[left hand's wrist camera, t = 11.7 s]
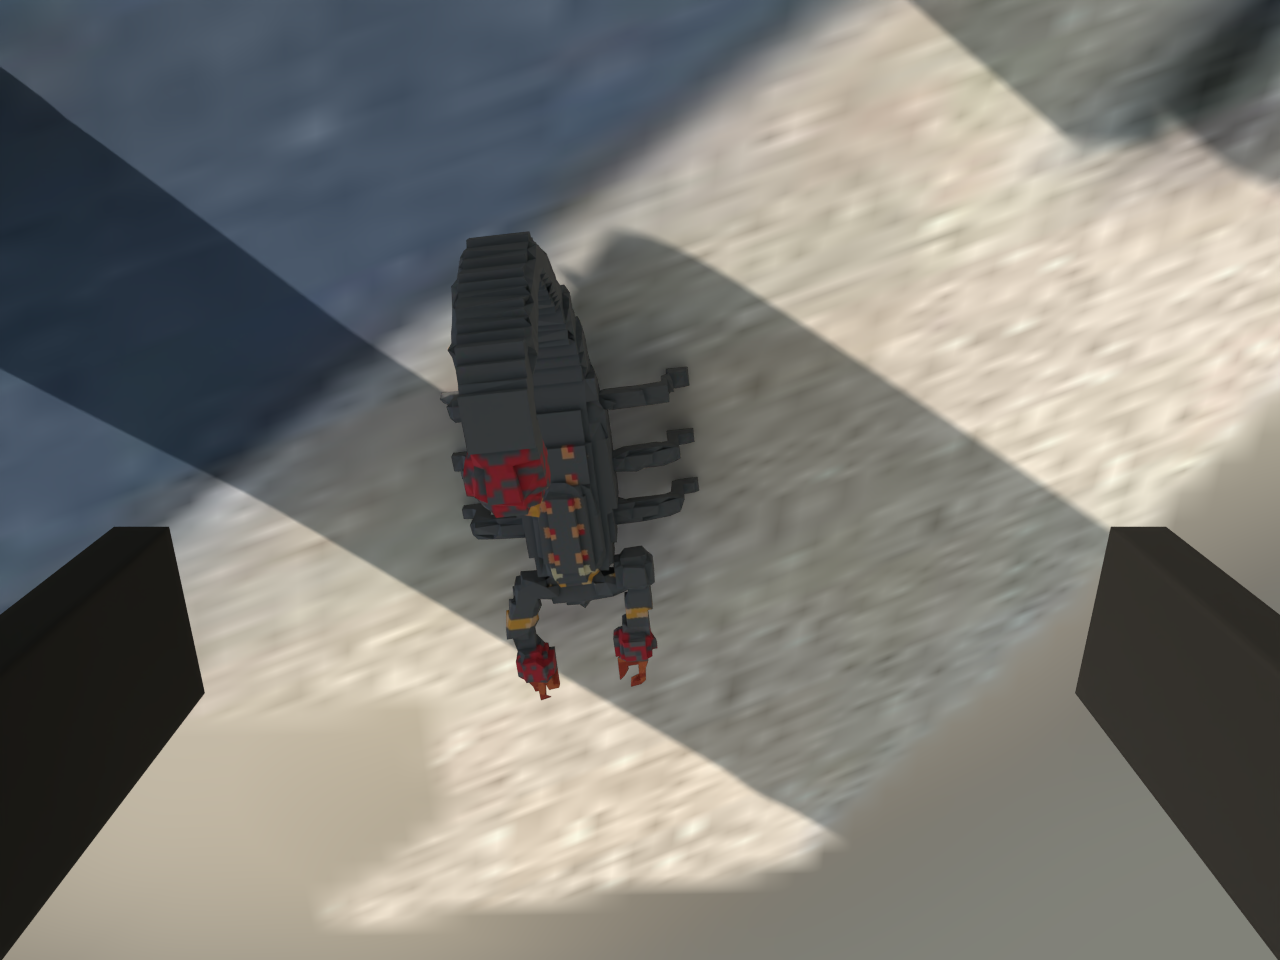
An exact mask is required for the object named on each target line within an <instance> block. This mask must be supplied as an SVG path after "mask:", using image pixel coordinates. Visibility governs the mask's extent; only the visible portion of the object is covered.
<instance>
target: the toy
mask: <svg viewBox="0 0 1280 960" xmlns="http://www.w3.org/2000/svg"><path fill="white" fill-rule="evenodd" d="M466 242H467V249H465V250H464V251H463V253H462V255H461V257H460V262H459V269H458V275H457V280H456V281H455V283H454V284H453V285H452V286H451V287H452V330H451V341H452V343H451V345H450V347H449V349H448V352H449V353H450V355H451V356H452V358H453V362H454V365H455V369H456V374H457V381H458V391H454V392H445V393H441V398H440V400H441V401H442V402H443V403H445V404H448V406H447V410H448V413H449V416H450V418H451V419H452V420H453V421H454V422H455V423H457V422H462V426H463V431H464V436H465V442H466V447H467V452H458V453H453V455H452V462H453V467H454V471H461V473H462V479H463V480H464V485H465V490H466V495H467V496H471V497H475V498H477V499H478V500H479V502H480V503H481V504H473V505H464V506H463V509H462V512H463V517H464V519H473V520H472V522H471V524H470V527H471V530H472V533H473V535H474V536H475V537H476V538H477V539H506V538H525V537H526V542H527V548H528V554H529V558H535V562H536V568H537V570H534V571H521V576H517V577H516V580H515V585H514V586H513V595H514V598H513V599H509V610H507V613H506V631H507V639H513V640H514V642H515V645H516V648H517V650H518V653H517V659H516V665H517V670H518V676H519V677H520V678H522V679H524V680H525V681H526V683H530V684H531V685H532V686H533V687H534V689H535V691H539V693H540V698H541V700H543V699H546V698H549V697H551V696H548V695H546V685H547V687H548V689H549V690H551V689H555V688H559V686H560V681H559V674H558V668H557V662H556V653H555V647H549V644H548V643H545V642H544V641H543V640H542V639H541V638H540V637H539V636H538V635H537V634H536V630H535V626H536V624H537V622H538V620H539V616H538V612H539V610H540V608H541V606H542V604H541V600H540V599H552V601H553V604H555V603H567V605H576V604H580V605H582V606H583V607H585V608H586V606H587V605H588V604H589V602H590V601H591V600H595V599H600V598H606V597H612V596H615V595H617V594H619V593H622V592H624V591H626V590H628V592H625V608H626V614H625V615H623V616H622V626H620V627H618V628H616V629H615V630H614V636H613V640H614V647H615V654H616V657H617V656H619V657H618V666H619V674H620V680H621V679H622V678H623V677H624V676H625V674H626V673H627V671H628V669H629V668H628V666H630V665H637V664H638V665H639V674H637V675H635V676H633V677H631V687H632V686H635V685H639V684H642V683H643V682H644V681H645V680H646V666H647V663H648V658H650V657H652V649H656V648H657V641H656V638H655V637H654V635H653V634H652V632H651V629H650V621H649V614H648V610H650V609H652V608H653V603H652V595H651V586H650V585H652V584H653V583H654V582H655V579H654V565H653V557H652V555H651V554H650V553H649V552H647V551H646V550H645V548H644V547H643V546H636V547H630V548H624V549H623V551H622V552H621V553H620V554H619V555H614V550H615V547H614V542H617V524H624V523H632V522H641V521H647V520H652V519H657V518H662V517H667V516H671V515H673V514H675V513H678V512H680V511H681V508H682V505H683V502H684V494H687V493H693V492H696V491H699V487H698V477H694V478H686V479H679V480H675V481H672V487H671V492H669V493H666V494H662V495H654V496H645V497H636V498H629V499H623V498H620V497H618V484H617V476H616V471H639V470H641V469H643V468H647V467H655V466H662V465H666V464H669V463H671V462H674V461H676V460H678V459H680V448H679V445H682V444H687V443H691V442H695V441H694V432H693V428H690V429H680V430H671V431H667V439H668V441H667V442H652V443H646V444H639V445H632V446H625V447H622V448H619V449H616V450H614V451H613V445H612V438H611V430H610V423H609V415H608V410H607V409H611V410H613V409H621V408H629V407H637V406H644V405H652V404H658V403H665V402H669V393H670V392H674V388H679V387H685V386H689V378H688V367H680V368H671V369H666V374H665V375H663V376H661V382H655V383H649V384H643V385H636V386H627V387H618V388H609V389H603V390H600V389H599V384H598V380H597V377H596V374H595V371H594V369H593V367H592V365H591V363H590V360H589V357H588V352H587V346H586V340H585V336H584V332H583V328H582V325H581V323H580V321H579V318H578V317H575V315H574V311H573V309H572V305H571V298H570V292H569V291H568V289H567V288H566V287H565V285H560V284H559V283H558V281H557V280H556V277H555V274H554V272H553V269H552V266H551V264H550V261H549V259H548V256H547V254H546V253H545V252H544V251H543V250H542V249H541V248H540V247H539V246H538V245H537V244H536V242H534V241H533V238H532V237H531V236H530V232H520V233H511V234H502V235H493V236H485V237H476V238H469V239H467V240H466ZM491 512H493V514H494V515H491ZM612 563H614V567H610V565H611V564H612Z"/></svg>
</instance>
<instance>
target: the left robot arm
mask: <svg viewBox="0 0 1280 960" xmlns="http://www.w3.org/2000/svg"><path fill="white" fill-rule="evenodd" d="M204 693H205V692H204V687H203V682H202V678H201V673H200V669H199V664H198V659H197V655H196V650H195V645H194V641H193V636H192V631H191V627H190V622H189V617H188V613H187V608H186V603H185V599H184V594H183V589H182V585H181V580H180V576H179V571H178V566H177V562H176V557H175V552H174V548H173V543H172V538H171V534H170V529H169V527H113V528H112V529H111V530H109V531H108V532H107V533H105V534H104V535H103V536H102V537H100V538H99V539H98V540H96V541H95V542H94V543H93V544H91V545H90V546H89V547H87V548H86V549H85V550H83V551H82V552H81V553H80V554H78V555H77V556H76V557H74V558H73V559H72V560H71V561H69V562H68V563H67V564H65V565H64V566H63V567H61V568H60V569H59V570H58V571H56V572H55V573H54V574H52V575H51V576H50V577H49V578H47V579H46V580H45V581H43V582H42V583H41V584H39V585H38V586H37V587H36V588H34V589H33V590H32V591H30V592H29V593H28V594H27V595H25V596H24V597H23V598H21V599H20V600H19V601H17V602H16V603H15V604H14V605H12V606H11V607H10V608H8V609H7V610H6V611H5V612H3V613H2V614H1V615H0V960H2V959H3V958H4V956H5V955H6V954H7V953H8V951H9V950H10V949H11V947H12V946H13V945H14V943H15V942H16V941H17V939H18V938H19V937H20V935H21V934H22V933H23V932H24V930H25V929H26V928H27V926H28V925H29V924H30V922H31V921H32V920H33V918H34V917H35V916H36V914H37V913H38V912H39V910H40V909H41V908H42V907H43V905H44V904H45V902H46V901H47V900H48V899H49V897H50V896H51V895H52V893H53V892H54V891H55V889H56V888H57V887H58V885H59V884H60V883H61V882H62V880H63V879H64V878H65V876H66V875H67V874H68V872H69V871H70V870H71V868H72V867H73V866H74V864H75V863H76V862H77V860H78V859H79V858H80V857H81V855H82V854H83V853H84V851H85V850H86V849H87V847H88V846H89V845H90V843H91V842H92V841H93V839H94V838H95V837H96V835H97V834H98V833H99V832H100V830H101V829H102V828H103V826H104V825H105V824H106V822H107V821H108V820H109V818H110V817H111V816H112V814H113V813H114V812H115V810H116V809H117V808H118V806H119V805H120V804H121V803H122V801H123V800H124V799H125V797H126V796H127V795H128V793H129V792H130V791H131V789H132V788H133V787H134V785H135V784H136V783H137V781H138V780H139V779H140V778H141V776H142V775H143V774H144V772H145V771H146V770H147V768H148V767H149V766H150V764H151V763H152V762H153V760H154V759H155V758H156V756H157V755H158V754H159V753H160V751H161V750H162V748H163V747H164V746H165V745H166V743H167V742H168V741H169V739H170V738H171V737H172V735H173V734H174V733H175V731H176V730H177V729H178V728H179V726H180V725H181V724H182V722H183V721H184V720H185V718H186V717H187V716H188V714H189V713H190V712H191V710H192V709H193V708H194V706H195V705H196V704H197V703H198V701H199V700H200V699H201V697H202V696H203V695H204ZM1075 693H1076V695H1077V696H1078V697H1079V699H1080V700H1081V701H1082V703H1083V704H1084V705H1085V706H1086V708H1087V709H1088V710H1089V712H1090V713H1091V714H1092V716H1093V717H1094V718H1095V720H1096V721H1097V722H1098V724H1099V725H1100V726H1101V728H1102V729H1103V730H1104V731H1105V733H1106V734H1107V735H1108V737H1109V738H1110V739H1111V741H1112V742H1113V743H1114V745H1115V746H1116V747H1117V748H1118V750H1119V751H1120V753H1121V754H1122V755H1123V757H1124V758H1125V759H1126V760H1127V762H1128V763H1129V764H1130V766H1131V767H1132V768H1133V770H1134V771H1135V772H1136V774H1137V775H1138V776H1139V778H1140V779H1141V780H1142V782H1143V783H1144V784H1145V785H1146V787H1147V788H1148V789H1149V791H1150V792H1151V793H1152V795H1153V796H1154V797H1155V799H1156V800H1157V801H1158V803H1159V804H1160V805H1161V806H1162V808H1163V809H1164V810H1165V812H1166V813H1167V814H1168V816H1169V817H1170V818H1171V820H1172V821H1173V822H1174V824H1175V825H1176V826H1177V828H1178V829H1179V830H1180V832H1181V833H1182V834H1183V835H1184V837H1185V838H1186V839H1187V841H1188V842H1189V843H1190V845H1191V846H1192V847H1193V849H1194V850H1195V851H1196V853H1197V854H1198V855H1199V857H1200V858H1201V859H1202V860H1203V862H1204V863H1205V864H1206V866H1207V867H1208V868H1209V870H1210V871H1211V872H1212V874H1213V875H1214V876H1215V878H1216V879H1217V880H1218V882H1219V883H1220V884H1221V885H1222V887H1223V888H1224V889H1225V891H1226V892H1227V893H1228V895H1229V896H1230V897H1231V899H1232V900H1233V901H1234V903H1235V904H1236V905H1237V907H1238V908H1239V909H1240V910H1241V912H1242V913H1243V914H1244V916H1245V917H1246V918H1247V920H1248V921H1249V922H1250V924H1251V925H1252V926H1253V928H1254V929H1255V930H1256V932H1257V933H1258V934H1259V935H1260V937H1261V938H1262V939H1263V941H1264V942H1265V943H1266V945H1267V946H1268V947H1269V949H1270V950H1271V951H1272V953H1273V954H1274V955H1275V957H1276V958H1277V959H1278V960H1280V615H1279V614H1278V613H1277V612H1275V611H1274V610H1273V609H1271V608H1270V607H1269V606H1268V605H1266V604H1265V603H1264V602H1262V601H1261V600H1260V599H1259V598H1257V597H1256V596H1255V595H1253V594H1252V593H1251V592H1250V591H1248V590H1247V589H1246V588H1244V587H1243V586H1242V585H1241V584H1239V583H1238V582H1237V581H1235V580H1234V579H1233V578H1231V577H1230V576H1229V575H1228V574H1226V573H1225V572H1224V571H1222V570H1221V569H1220V568H1219V567H1217V566H1216V565H1215V564H1213V563H1212V562H1211V561H1209V560H1208V559H1207V558H1206V557H1204V556H1203V555H1202V554H1200V553H1199V552H1198V551H1197V550H1195V549H1194V548H1193V547H1191V546H1190V545H1189V544H1187V543H1186V542H1185V541H1184V540H1182V539H1181V538H1180V537H1178V536H1177V535H1176V534H1175V533H1173V532H1172V531H1171V530H1169V529H1168V528H1167V527H1111V529H1110V534H1109V538H1108V543H1107V548H1106V552H1105V557H1104V562H1103V566H1102V571H1101V576H1100V580H1099V585H1098V589H1097V594H1096V599H1095V603H1094V608H1093V613H1092V617H1091V622H1090V627H1089V631H1088V636H1087V641H1086V645H1085V650H1084V655H1083V659H1082V664H1081V669H1080V673H1079V678H1078V683H1077V687H1076V692H1075Z"/></svg>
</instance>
